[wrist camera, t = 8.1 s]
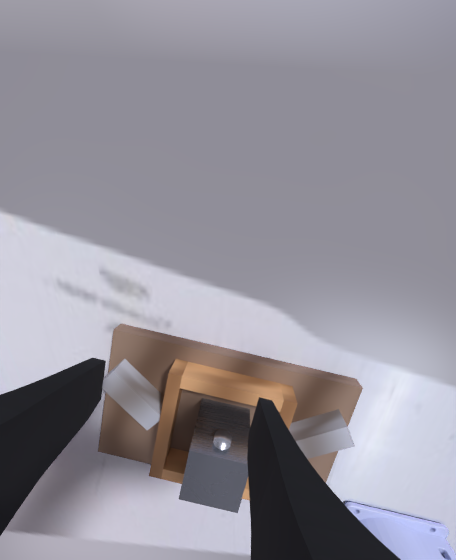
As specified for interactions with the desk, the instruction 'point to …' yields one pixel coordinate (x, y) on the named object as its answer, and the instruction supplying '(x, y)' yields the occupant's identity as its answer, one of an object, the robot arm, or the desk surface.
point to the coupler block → (218, 456)
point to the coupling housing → (214, 386)
